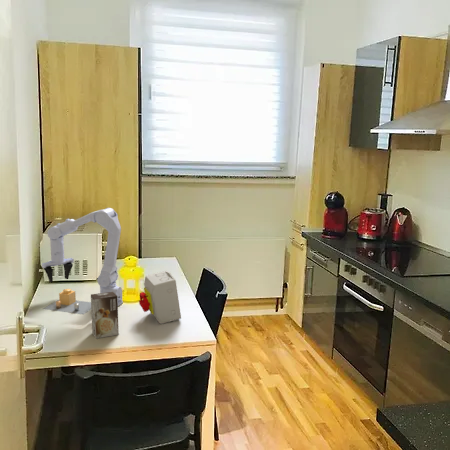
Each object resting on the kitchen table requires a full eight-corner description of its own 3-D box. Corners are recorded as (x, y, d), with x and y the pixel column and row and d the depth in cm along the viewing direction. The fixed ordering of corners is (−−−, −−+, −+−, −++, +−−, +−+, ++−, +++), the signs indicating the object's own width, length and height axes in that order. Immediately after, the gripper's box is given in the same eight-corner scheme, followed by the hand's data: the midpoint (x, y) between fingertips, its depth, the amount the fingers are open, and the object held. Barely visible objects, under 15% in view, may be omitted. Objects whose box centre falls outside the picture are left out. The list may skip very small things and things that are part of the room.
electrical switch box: (139, 318, 216) (131, 275, 211) (171, 309, 221) (165, 267, 216) (147, 331, 203) (139, 286, 198) (181, 321, 208) (175, 277, 203)
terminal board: (100, 306, 223) (100, 303, 223) (83, 317, 210) (83, 314, 210) (61, 301, 228) (61, 298, 228) (42, 312, 215) (42, 308, 215)
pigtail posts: (80, 309, 215) (79, 303, 214) (77, 311, 213) (77, 304, 212) (57, 307, 217) (57, 300, 217) (55, 308, 216) (54, 302, 215)
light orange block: (75, 301, 225) (75, 289, 223) (69, 305, 220) (68, 292, 219) (66, 300, 226) (65, 287, 225) (59, 304, 221) (59, 291, 220)
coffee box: (114, 329, 199) (113, 290, 196) (119, 334, 194) (118, 295, 190) (91, 332, 195) (90, 294, 192) (95, 339, 189) (94, 299, 186)
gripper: (68, 247, 234) (69, 275, 236) (38, 252, 224) (39, 281, 226) (75, 250, 229) (76, 278, 231) (45, 255, 219) (46, 285, 221)
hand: (58, 280), depth 228 cm, fingers open, 7 cm apart
